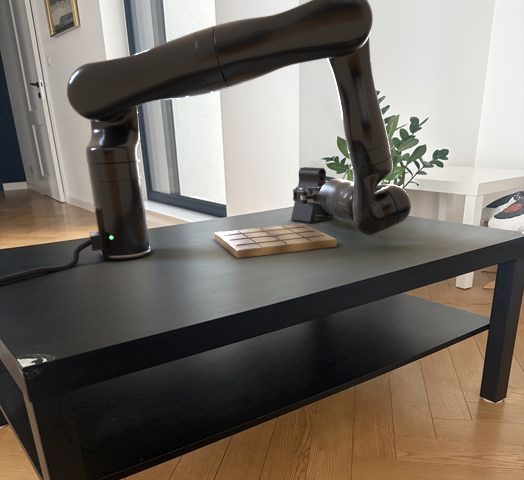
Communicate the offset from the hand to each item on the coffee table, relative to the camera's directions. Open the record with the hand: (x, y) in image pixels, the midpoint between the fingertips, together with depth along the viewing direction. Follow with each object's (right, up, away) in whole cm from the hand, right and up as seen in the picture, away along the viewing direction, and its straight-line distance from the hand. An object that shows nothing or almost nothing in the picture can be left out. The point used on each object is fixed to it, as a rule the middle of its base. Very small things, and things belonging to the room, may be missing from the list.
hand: (313, 190), depth 130 cm
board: (-10, -16, -18) cm, 27 cm away
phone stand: (0, -6, +4) cm, 7 cm away
